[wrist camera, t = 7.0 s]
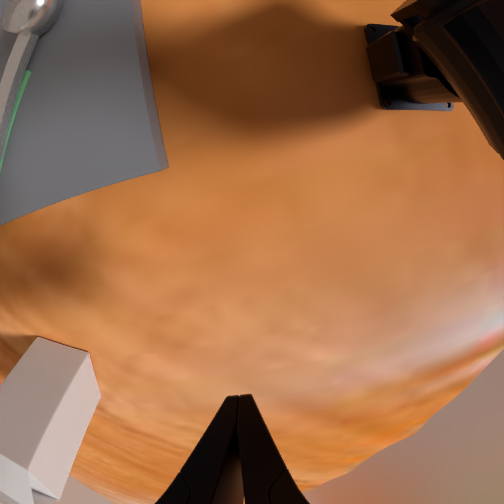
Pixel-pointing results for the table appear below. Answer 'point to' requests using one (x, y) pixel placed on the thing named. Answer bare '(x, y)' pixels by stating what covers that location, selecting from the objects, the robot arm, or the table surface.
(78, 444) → the milk carton
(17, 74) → the lever
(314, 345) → the table surface
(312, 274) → the table surface
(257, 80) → the table surface
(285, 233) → the table surface
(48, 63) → the board
